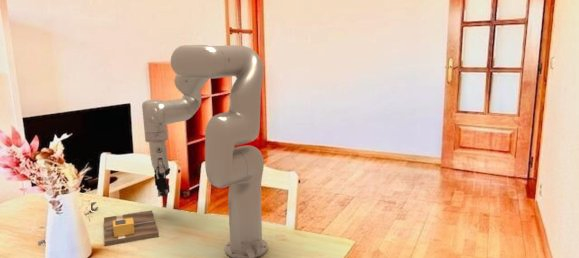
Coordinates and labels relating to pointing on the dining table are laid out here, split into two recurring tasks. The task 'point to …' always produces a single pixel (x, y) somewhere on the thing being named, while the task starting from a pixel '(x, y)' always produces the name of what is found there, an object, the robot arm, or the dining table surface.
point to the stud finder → (123, 227)
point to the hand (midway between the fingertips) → (160, 186)
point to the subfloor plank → (142, 228)
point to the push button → (166, 191)
